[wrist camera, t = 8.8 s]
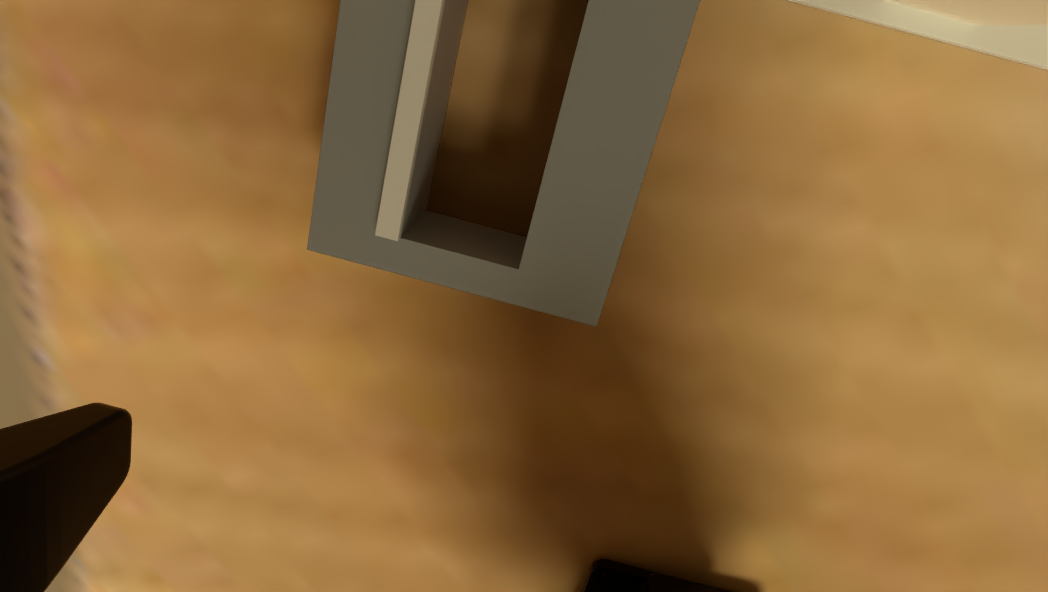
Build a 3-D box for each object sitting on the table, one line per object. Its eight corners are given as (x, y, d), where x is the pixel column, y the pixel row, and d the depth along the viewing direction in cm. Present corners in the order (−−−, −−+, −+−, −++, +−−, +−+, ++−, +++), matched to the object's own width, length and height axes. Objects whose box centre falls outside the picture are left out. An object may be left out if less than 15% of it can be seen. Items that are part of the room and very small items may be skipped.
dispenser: (596, 288, 21) (596, 331, 18) (344, 220, 21) (302, 253, 18) (705, -68, 18) (730, -89, 14) (401, -149, 17) (360, -188, 14)
